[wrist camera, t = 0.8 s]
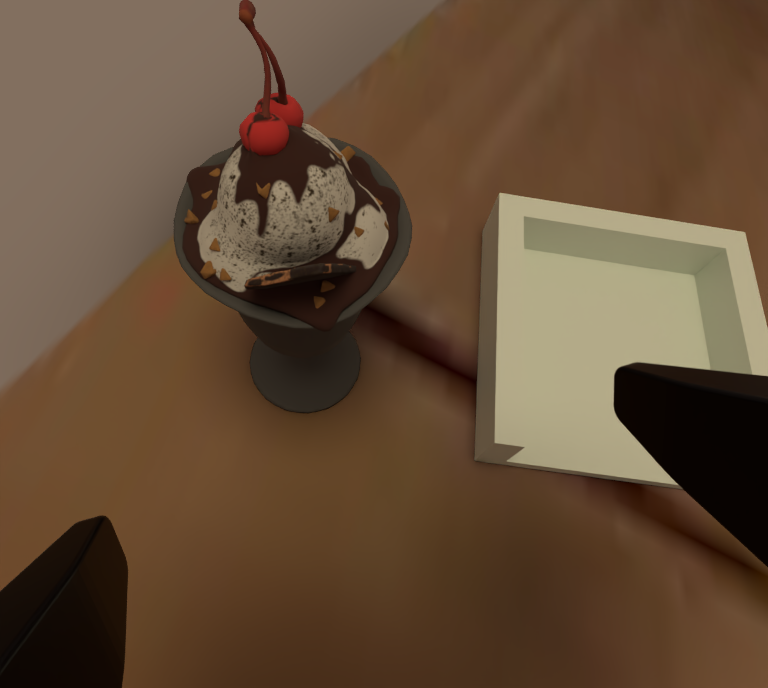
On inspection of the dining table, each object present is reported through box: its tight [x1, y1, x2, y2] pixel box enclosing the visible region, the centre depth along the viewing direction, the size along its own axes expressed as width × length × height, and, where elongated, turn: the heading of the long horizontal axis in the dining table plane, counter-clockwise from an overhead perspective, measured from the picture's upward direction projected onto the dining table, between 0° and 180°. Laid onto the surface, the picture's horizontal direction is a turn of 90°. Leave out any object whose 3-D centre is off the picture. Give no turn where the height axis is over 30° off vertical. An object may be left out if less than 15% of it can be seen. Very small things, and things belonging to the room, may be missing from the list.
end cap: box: [474, 193, 768, 489], centre depth 24 cm, size 12×12×3 cm
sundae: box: [174, 0, 412, 413], centre depth 17 cm, size 7×7×15 cm
